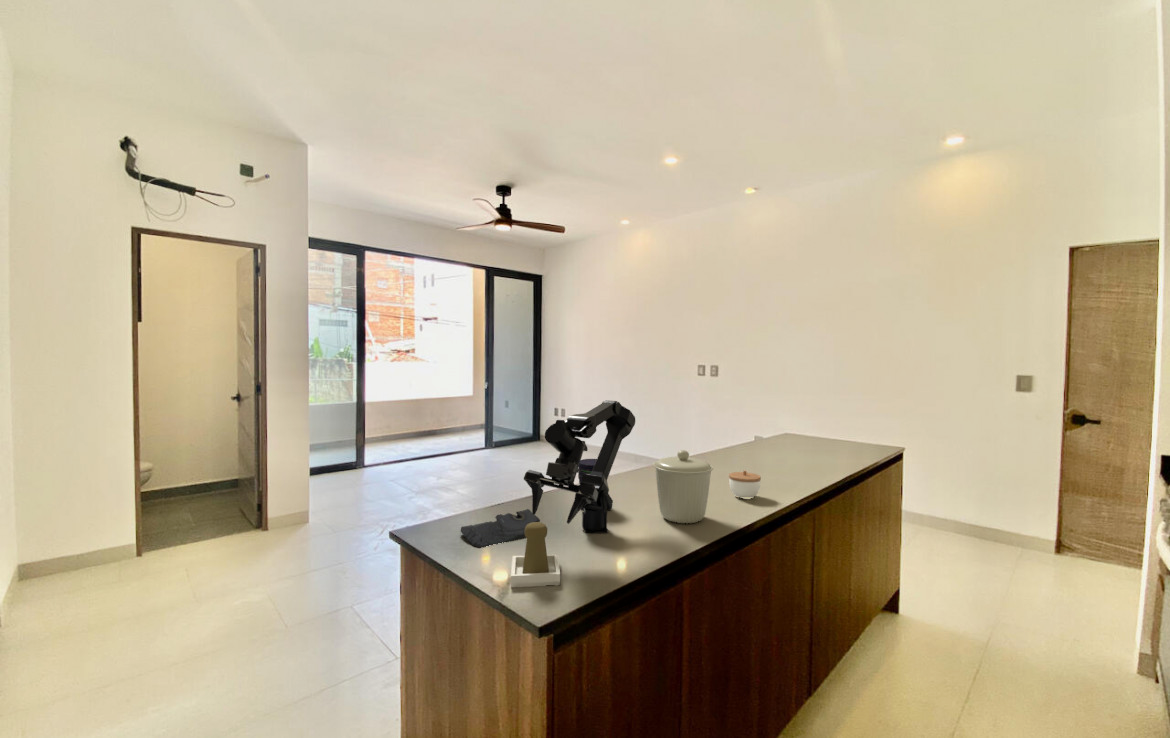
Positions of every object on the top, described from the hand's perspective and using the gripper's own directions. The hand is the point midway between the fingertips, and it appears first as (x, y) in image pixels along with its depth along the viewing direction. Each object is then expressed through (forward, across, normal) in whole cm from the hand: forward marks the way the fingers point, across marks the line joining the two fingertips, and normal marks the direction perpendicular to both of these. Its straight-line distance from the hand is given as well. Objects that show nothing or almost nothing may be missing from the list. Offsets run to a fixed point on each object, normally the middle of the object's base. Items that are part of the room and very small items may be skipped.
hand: (550, 518), depth 122 cm
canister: (-17, +29, +37) cm, 50 cm away
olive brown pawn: (+13, +2, -4) cm, 14 cm away
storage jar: (-14, -1, +41) cm, 44 cm away
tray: (+14, +2, -4) cm, 14 cm away
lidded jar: (-35, +46, +61) cm, 85 cm away
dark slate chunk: (+5, -18, +17) cm, 25 cm away
